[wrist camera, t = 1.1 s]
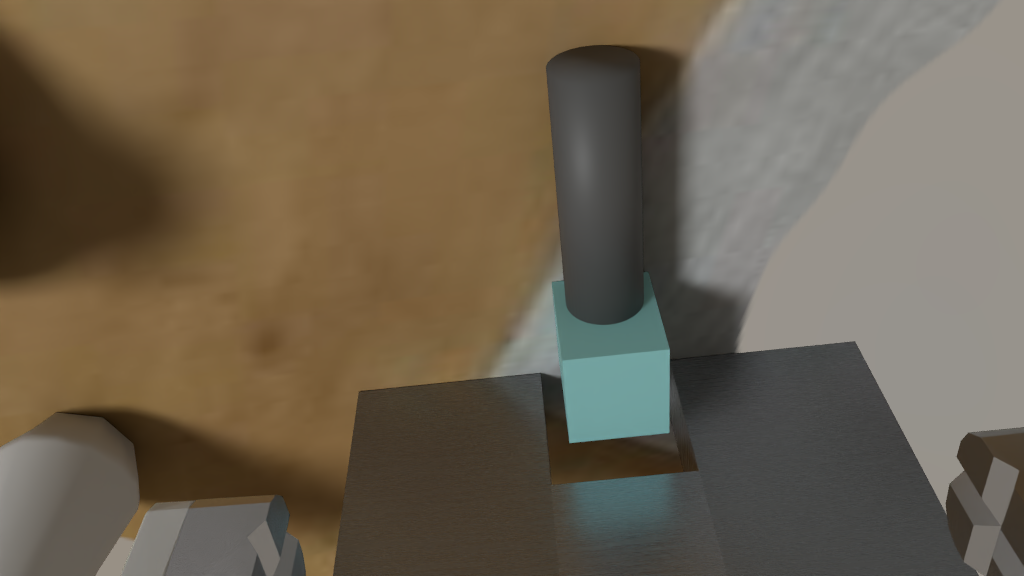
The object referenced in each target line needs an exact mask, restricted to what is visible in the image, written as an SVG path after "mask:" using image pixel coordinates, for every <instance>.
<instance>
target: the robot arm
mask: <svg viewBox="0 0 1024 576" xmlns="http://www.w3.org/2000/svg"><path fill="white" fill-rule="evenodd" d="M957 458H958V460H959V461H960V463H961V465H962V467H963V468H964V471H963V472H962V473H961V474H960V475H959V476H958V477H957V478H955V479H954V480H953V481H952V482H951V483H950V485H949V490H948V495H947V500H946V511H947V521H948V527H949V530H950V533H951V536H952V539H953V542H954V545H955V547H956V549H957V550H958V552H959V554H960V556H961V558H962V560H963V562H964V563H966V564H967V565H969V566H970V567H972V568H973V569H975V570H976V571H978V572H979V573H981V574H983V575H984V576H1024V427H1022V428H1012V429H1001V430H991V431H981V432H971V433H968V434H967V435H966V436H965V437H964V438H963V440H962V441H961V443H960V446H959V450H958V454H957ZM289 516H290V514H289V512H288V509H287V507H286V504H285V502H284V499H283V496H279V495H262V496H246V497H230V498H214V499H198V500H194V501H179V502H163V503H155V504H154V505H153V506H152V507H151V508H150V509H149V510H148V512H147V513H146V514H145V516H144V519H143V521H142V524H141V526H140V529H139V531H138V534H137V536H136V539H135V541H134V543H133V546H132V549H131V551H130V554H129V556H128V559H127V561H126V563H125V566H124V568H123V571H122V573H121V576H306V571H305V564H304V558H303V553H302V550H301V547H300V543H299V540H298V539H296V538H295V537H293V536H292V535H290V534H289V533H287V532H286V530H287V526H288V521H289Z"/></svg>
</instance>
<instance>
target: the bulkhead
mask: <svg viewBox="0 0 1024 576" xmlns="http://www.w3.org/2000/svg"><path fill="white" fill-rule="evenodd" d="M669 415H670V419H671V423H672V427H673V431H674V435H675V439H676V443H677V447H678V451H679V455H680V459H681V463H682V467H683V471H684V472H681V473H671V474H661V475H650V476H640V477H630V478H620V479H609V480H599V481H589V482H579V483H568V484H558V485H552V480H551V470H550V459H549V449H548V438H547V428H546V418H545V409H544V401H543V392H542V383H541V374H540V373H539V374H529V375H520V376H510V377H500V378H490V379H480V380H470V381H461V382H451V383H441V384H431V385H421V386H411V387H401V388H392V389H382V390H372V391H362V392H359V395H358V402H357V409H356V416H355V423H354V430H353V437H352V444H351V451H350V458H349V465H348V473H347V480H346V487H345V494H344V501H343V508H342V515H341V522H340V529H339V536H338V543H337V551H336V558H335V565H334V572H333V576H979V575H978V573H977V572H976V570H975V569H973V568H972V567H970V566H969V565H967V564H966V563H964V562H963V560H962V558H961V556H960V554H959V552H958V550H957V549H956V547H955V545H954V542H953V539H952V536H951V533H950V530H949V527H948V521H947V515H946V513H945V511H944V509H943V507H942V505H941V503H940V502H939V500H938V498H937V496H936V494H935V492H934V490H933V488H932V486H931V485H930V483H929V481H928V479H927V477H926V475H925V473H924V471H923V469H922V467H921V466H920V464H919V462H918V460H917V458H916V456H915V454H914V452H913V450H912V448H911V447H910V445H909V443H908V441H907V439H906V437H905V435H904V433H903V432H902V430H901V428H900V426H899V424H898V422H897V420H896V418H895V416H894V414H893V413H892V411H891V409H890V407H889V405H888V403H887V401H886V399H885V397H884V396H883V394H882V392H881V390H880V388H879V386H878V384H877V382H876V380H875V378H874V377H873V375H872V373H871V371H870V369H869V367H868V365H867V363H866V362H865V360H864V358H863V356H862V354H861V352H860V350H859V348H858V346H857V344H856V343H855V342H845V343H835V344H825V345H815V346H805V347H796V348H786V349H776V350H766V351H757V352H746V353H736V354H726V355H717V356H707V357H697V358H687V359H677V360H670V400H669Z"/></svg>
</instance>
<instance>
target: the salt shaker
mask: <svg viewBox="0 0 1024 576" xmlns="http://www.w3.org/2000/svg"><path fill="white" fill-rule="evenodd" d="M139 500H140V495H139V479H138V471H137V464H136V458H135V451H134V444H133V443H132V442H131V441H130V440H128V439H127V438H126V437H125V436H124V435H123V434H122V433H120V432H119V431H118V430H117V429H116V428H115V427H113V426H112V425H111V424H110V423H109V422H108V421H106V420H105V419H104V418H103V417H95V416H86V415H76V414H66V413H55V414H53V415H52V416H50V417H49V418H48V419H46V420H45V421H43V422H42V423H41V424H39V425H38V426H37V427H35V428H34V429H32V430H30V431H28V432H26V433H25V434H23V435H21V436H19V437H17V438H16V439H14V440H12V441H10V442H8V443H6V444H5V445H3V446H2V447H1V448H0V576H95V575H96V573H97V572H98V570H99V568H100V567H101V565H102V564H103V562H104V561H105V559H106V558H107V556H108V555H109V553H110V551H111V550H112V548H113V547H114V545H115V544H116V542H117V540H118V539H119V537H120V536H121V534H122V533H123V531H124V530H125V528H126V527H127V525H128V524H129V522H130V520H131V519H132V517H133V516H134V514H135V513H136V511H137V510H138V505H139Z"/></svg>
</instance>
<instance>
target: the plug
mask: <svg viewBox="0 0 1024 576" xmlns="http://www.w3.org/2000/svg"><path fill="white" fill-rule="evenodd" d="M546 72H547V84H548V96H549V108H550V120H551V132H552V144H553V156H554V168H555V180H556V192H557V204H558V216H559V228H560V240H561V252H562V264H563V276H564V281H557V282H552V289H553V300H554V311H555V321H556V332H557V343H558V353H559V363H560V371H561V379H562V387H563V395H564V403H565V411H566V419H567V427H568V435H569V443H576V442H586V441H595V440H605V439H615V438H625V437H635V436H644V435H654V434H664V433H669V400H670V348H669V345H668V341H667V338H666V334H665V330H664V327H663V323H662V320H661V316H660V312H659V309H658V305H657V302H656V298H655V294H654V291H653V287H652V284H651V280H650V276H649V273H648V272H643V212H642V152H641V91H640V59H639V57H638V56H637V55H636V54H635V53H633V52H632V51H630V50H627V49H624V48H620V47H615V46H603V45H598V46H585V47H579V48H575V49H571V50H568V51H565V52H562V53H560V54H558V55H556V56H555V57H553V58H552V59H551V60H550V61H549V62H548V64H547V66H546Z"/></svg>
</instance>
